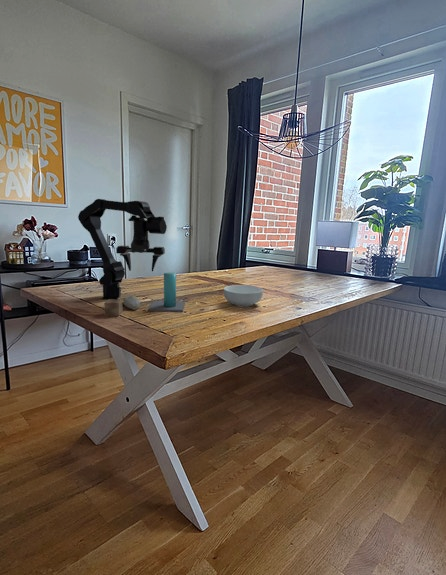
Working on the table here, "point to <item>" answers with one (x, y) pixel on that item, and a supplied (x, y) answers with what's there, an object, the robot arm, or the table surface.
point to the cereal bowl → (243, 294)
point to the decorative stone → (131, 302)
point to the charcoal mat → (160, 307)
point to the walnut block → (113, 307)
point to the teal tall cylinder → (169, 289)
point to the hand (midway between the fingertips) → (141, 270)
